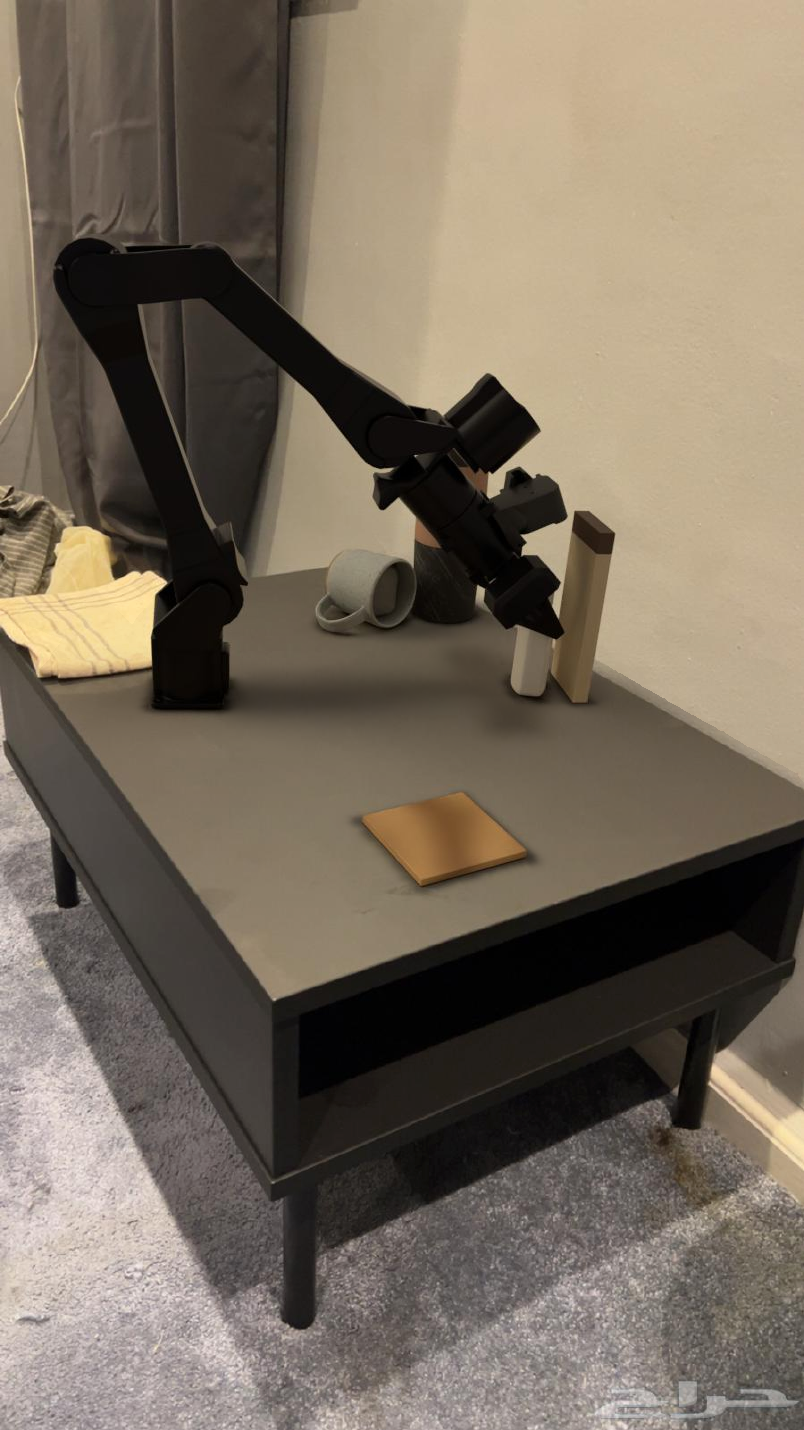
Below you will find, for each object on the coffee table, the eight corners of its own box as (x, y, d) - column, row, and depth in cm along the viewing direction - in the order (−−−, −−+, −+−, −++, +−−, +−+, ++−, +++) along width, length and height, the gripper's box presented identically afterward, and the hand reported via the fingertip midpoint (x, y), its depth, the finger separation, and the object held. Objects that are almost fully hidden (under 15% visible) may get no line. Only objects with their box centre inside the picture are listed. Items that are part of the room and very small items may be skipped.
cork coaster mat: (421, 886, 73) (421, 879, 73) (362, 821, 80) (362, 815, 80) (526, 857, 77) (527, 850, 77) (461, 798, 84) (462, 791, 84)
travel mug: (471, 627, 117) (488, 446, 108) (404, 619, 118) (415, 439, 109) (479, 604, 124) (496, 432, 115) (416, 596, 125) (427, 425, 116)
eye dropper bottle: (559, 683, 105) (578, 568, 100) (534, 701, 101) (552, 583, 95) (520, 670, 107) (537, 557, 102) (494, 688, 103) (510, 571, 97)
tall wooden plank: (572, 703, 102) (599, 532, 94) (550, 672, 108) (574, 510, 100) (587, 702, 102) (615, 533, 94) (564, 672, 108) (589, 510, 100)
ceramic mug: (362, 598, 123) (364, 535, 119) (416, 618, 118) (420, 553, 115) (297, 622, 115) (298, 555, 112) (352, 644, 111) (354, 575, 107)
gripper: (553, 474, 84) (655, 604, 92) (493, 424, 101) (583, 538, 108) (448, 566, 86) (556, 686, 94) (405, 502, 103) (500, 609, 110)
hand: (550, 624), depth 101 cm, fingers closed on eye dropper bottle, 5 cm apart
